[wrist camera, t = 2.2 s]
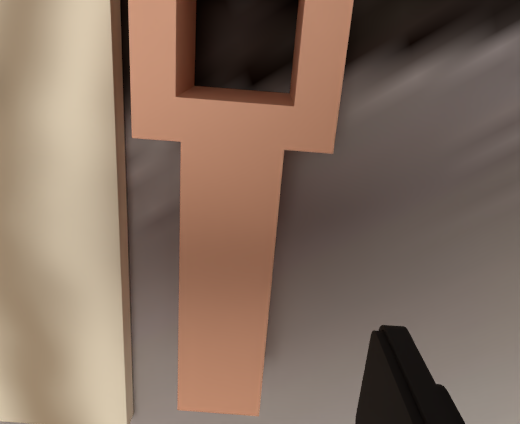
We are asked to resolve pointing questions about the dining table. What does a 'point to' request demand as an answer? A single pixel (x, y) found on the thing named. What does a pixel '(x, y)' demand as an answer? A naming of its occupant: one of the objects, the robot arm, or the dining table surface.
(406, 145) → the dining table surface
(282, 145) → the link
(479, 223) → the dining table surface
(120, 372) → the board
